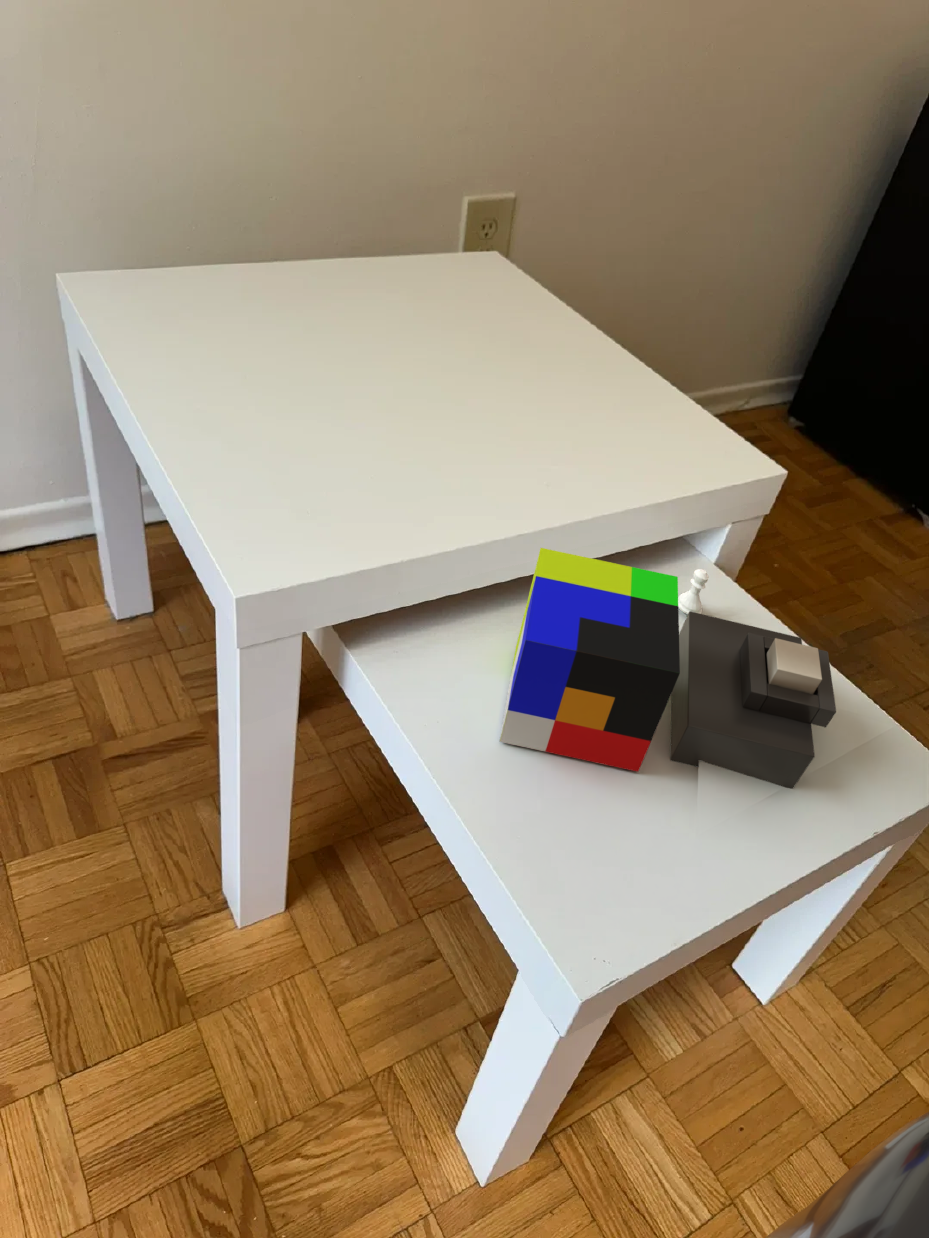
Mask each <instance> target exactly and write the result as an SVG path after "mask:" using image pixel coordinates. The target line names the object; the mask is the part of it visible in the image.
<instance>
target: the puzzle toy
mask: <svg viewBox="0 0 929 1238" xmlns="http://www.w3.org/2000/svg"><path fill="white" fill-rule="evenodd" d="M678 597H679V576H676V575H672V574H667V573H663V572H657V571H652V570H648V569H643V568H638V567H634V566H629V565H624V564H620V563H615V562H610V561H605V560H601V559H596V558H591V557H586V556H582V555H577V554H574V553H573V554H572V553H568V552H564V551H559V550H555V549H549V548H544V547H540V549H539V553H538V557H537V560H536V564H535V569H534V572H533V577H532V580H531V584H530V588H529V592H528V597H527V601H526V605H525V609H524V613H523V617H522V620H521V621H522V622H521V625H520V629H519V633H518V637H517V641H516V645H515V649H514V656H513V661H512V667H511V672H510V679H509V685H508V691H507V696H506V702H505V707H504V714H503V719H502V723H501V724H502V725H501V729H500V737H499V742H500V743H503V744H504V743H505V744H508V745H512V746H518V747H523V748H527V749H532V750H536V751H541V752H545V753H549V754H555V755H560V756H564V757H569V758H574V759H576V760H577V759H578V760H583V761H588V762H592V763H596V764H599V765H604V766H605V765H606V766H609V767H615V768H619V769H624V770H629V771H633V772H636V773H639V771H640V768H641V767H642V764H643V761H644V759H645V757H646V754H647V752H648V750H649V747H650V745H651V743H652V740H653V738H654V736H655V733H656V731H657V728H658V726H659V724H660V721H661V719H662V717H663V714H664V713H665V709H666V707H667V705H668V703H669V700H670V698H671V696H672V691H673V688H674V686H675V684H676V681H677V679H678V676H679V674H680V655H679V633H680V616H679V615H680V613H679V607H678Z"/></svg>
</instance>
